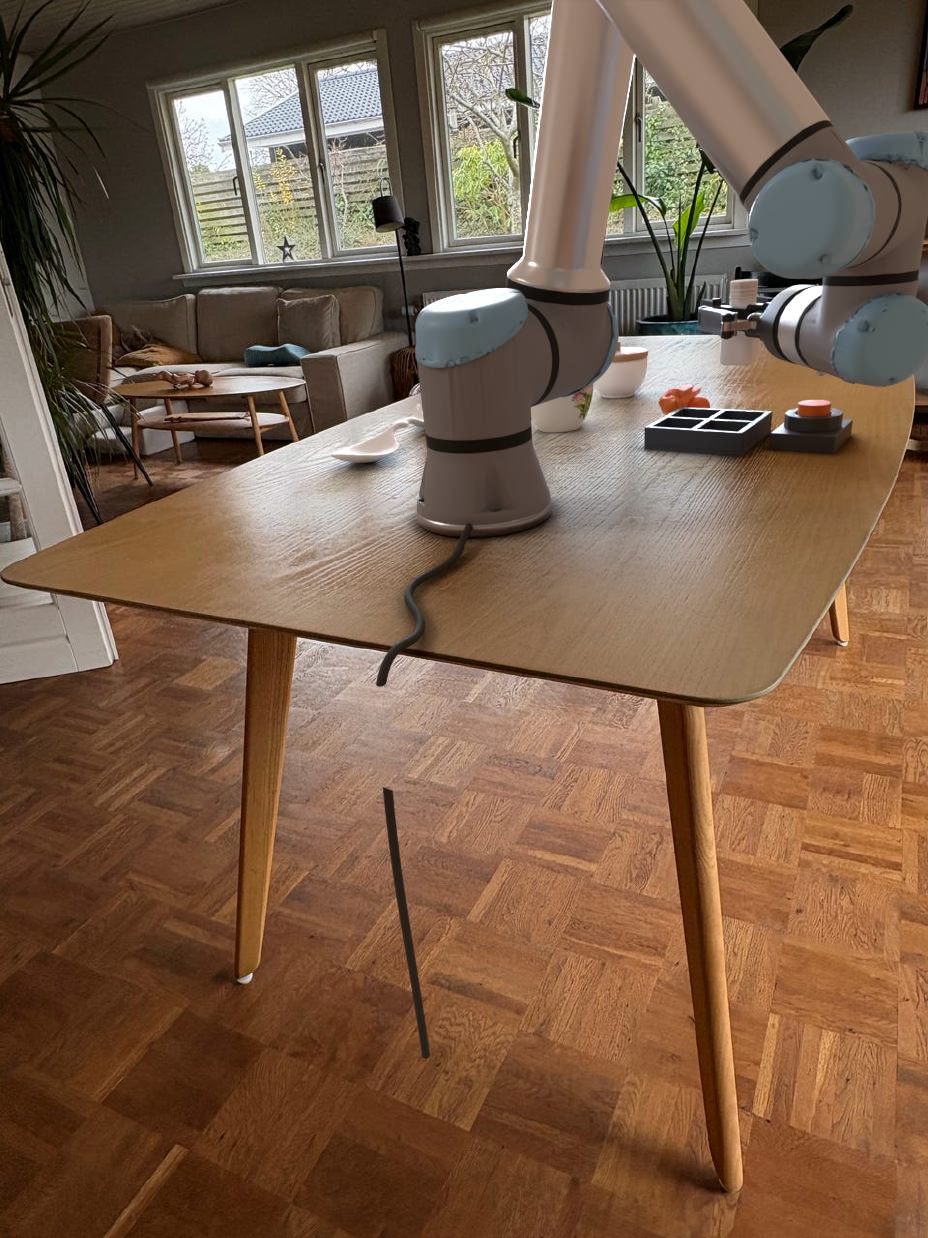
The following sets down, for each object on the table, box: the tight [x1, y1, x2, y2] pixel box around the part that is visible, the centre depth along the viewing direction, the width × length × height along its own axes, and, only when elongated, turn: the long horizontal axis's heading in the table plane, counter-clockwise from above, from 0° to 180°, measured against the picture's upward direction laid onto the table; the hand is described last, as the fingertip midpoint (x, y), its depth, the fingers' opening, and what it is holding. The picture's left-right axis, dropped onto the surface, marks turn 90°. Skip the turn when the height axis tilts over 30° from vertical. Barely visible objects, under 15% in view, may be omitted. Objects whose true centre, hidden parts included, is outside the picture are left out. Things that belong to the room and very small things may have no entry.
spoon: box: [330, 402, 425, 464], centre depth 126 cm, size 9×32×4 cm, turn 156°
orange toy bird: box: [658, 382, 711, 416], centre depth 126 cm, size 5×8×12 cm
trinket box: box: [593, 340, 649, 399], centre depth 146 cm, size 11×11×9 cm
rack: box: [643, 407, 773, 458], centre depth 113 cm, size 13×13×3 cm
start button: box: [797, 399, 832, 417], centre depth 107 cm, size 4×4×2 cm
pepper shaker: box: [719, 278, 761, 367], centre depth 97 cm, size 4×4×10 cm
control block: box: [768, 407, 854, 455], centre depth 108 cm, size 10×8×4 cm
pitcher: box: [531, 384, 594, 433], centre depth 126 cm, size 11×18×14 cm, turn 149°
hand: (726, 308), depth 102 cm, fingers closed on pepper shaker, 5 cm apart
